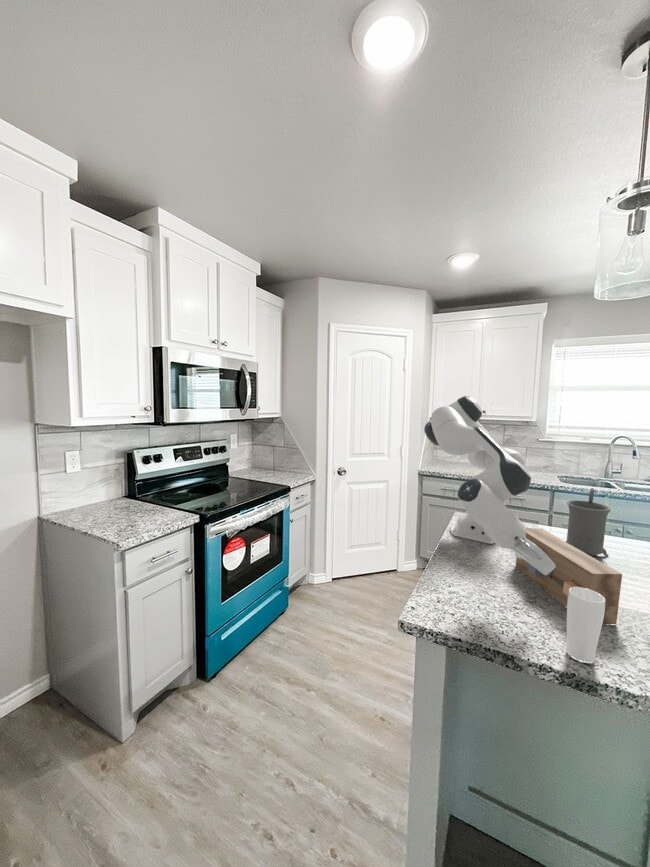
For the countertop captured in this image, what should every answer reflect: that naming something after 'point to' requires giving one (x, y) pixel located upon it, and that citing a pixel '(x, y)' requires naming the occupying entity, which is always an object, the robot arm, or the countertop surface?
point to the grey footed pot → (587, 525)
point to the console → (574, 572)
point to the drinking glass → (584, 622)
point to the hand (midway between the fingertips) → (539, 566)
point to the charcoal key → (537, 572)
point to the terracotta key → (569, 586)
